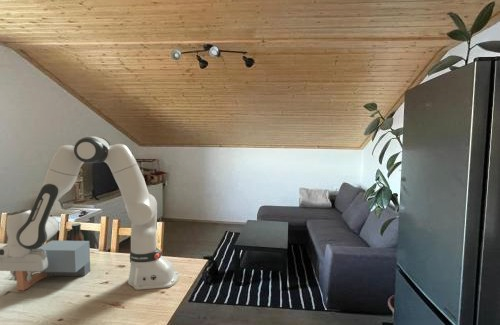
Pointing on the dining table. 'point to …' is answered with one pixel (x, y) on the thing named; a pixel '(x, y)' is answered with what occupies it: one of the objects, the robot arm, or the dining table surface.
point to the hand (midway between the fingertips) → (22, 280)
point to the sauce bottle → (76, 233)
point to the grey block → (67, 258)
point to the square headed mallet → (26, 284)
